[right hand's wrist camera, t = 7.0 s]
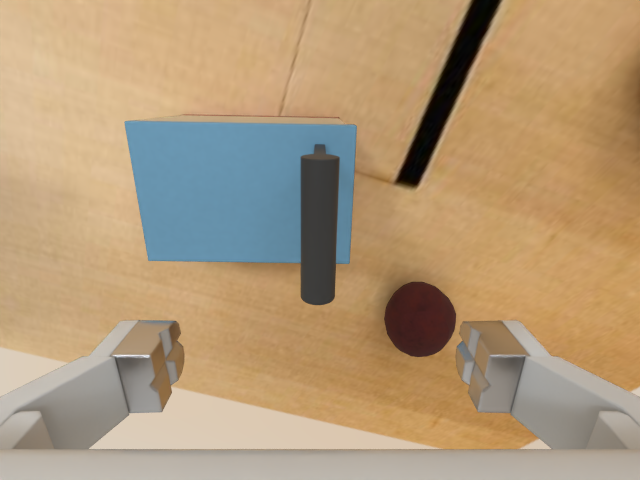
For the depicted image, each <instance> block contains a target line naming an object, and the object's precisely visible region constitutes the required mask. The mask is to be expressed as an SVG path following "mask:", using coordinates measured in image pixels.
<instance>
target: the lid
mask: <svg viewBox="0 0 640 480" xmlns="http://www.w3.org/2000/svg"><path fill="white" fill-rule="evenodd" d="M125 128H126V134H127V139H128V145H129V151H130V157H131V163H132V168H133V174H134V180H135V186H136V192H137V197H138V203H139V209H140V215H141V220H142V226H143V232H144V238H145V244H146V249H147V255H148V260H149V261H198V262H264V263H301V298H302V300H303V301H304V302H306V303H308V304H312V305H324V304H328V303H330V302H331V301H333V299H334V297H335V273H336V264H349V263H350V245H351V226H352V207H353V188H354V169H355V150H356V131H357V126H356V125H349V124H295V123H241V122H187V121H125Z"/></svg>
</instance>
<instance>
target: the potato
mask: <svg viewBox="0 0 640 480" xmlns="http://www.w3.org/2000/svg"><path fill="white" fill-rule="evenodd" d="M384 320H385V325H386V330H387V334H388V336H389V338H390V339H391V341H392V342H393V344H394V345H395V346H396V347H397V348H398V349H399V350H400V351H402V352H404V353H406V354H408V355H410V356H415V357H424V356H429V355H432V354H435V353H437V352H439V351H440V350H441V349H442V348H443V347H444V346H445V345H446V344H447V342H448V341H449V339H450V338H451V336H452V334H453V332H454V329H455V323H456V313H455V310H454V307H453V305H452V303H451V302H450V300H449V298H448V297H447V296H446V295H444V294H443V293H442V292H441V291H440V290H439V289H438V288H436V287H435V286H432V285H430V284H427V283H424V282H411V283H408V284H406V285H403V286H402V287H401V288H400V289H398V290H397V291H396V292H395V293H394V294H393V296H392V298H391V299H390V301H389V302H388V304H387V307H386V311H385V318H384Z"/></svg>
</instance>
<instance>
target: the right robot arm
mask: <svg viewBox="0 0 640 480" xmlns="http://www.w3.org/2000/svg"><path fill="white" fill-rule="evenodd" d="M180 334H181V332H180V327H179V324H178V323H177V322H176V321H156V320H124V321H120V322H119V323H118V324H117V325H116V326H115V328H114V329H113V330H112V331H111V332H110V333H109V334H108V335H107V336H106V337H105V339H104V340H103V341H102V342H101V343H100V344H99V345H98V346H97V347H96V348H95V350H94V351H93V352H92V353H91V354H90V355H89V356H82V357H80V358H78V359H76V360H74V361H72V362H70V363H68V364H66V365H64V366H62V367H60V368H58V369H56V370H54V371H52V372H50V373H48V374H46V375H44V376H42V377H40V378H38V379H35V380H33V381H31V382H29V383H27V384H25V385H23V386H21V387H19V388H17V389H15V390H13V391H11V392H9V393H7V394H5V395H3V396H1V397H0V480H640V397H639V396H637V395H635V394H633V393H631V392H629V391H627V390H625V389H623V388H621V387H619V386H617V385H615V384H612V383H610V382H608V381H606V380H604V379H602V378H600V377H598V376H596V375H594V374H592V373H590V372H588V371H586V370H584V369H582V368H580V367H578V366H576V365H574V364H572V363H570V362H568V361H566V360H564V359H562V358H560V357H558V356H551V355H550V354H549V353H548V352H547V351H546V350H545V348H544V347H543V346H542V345H541V344H540V343H539V342H538V341H537V340H536V339H535V337H534V336H533V335H532V334H531V333H530V332H529V331H528V330H527V329H526V328H525V326H524V325H523V324H522V323H521V322H519V321H517V320H498V321H463V322H462V324H461V326H460V331H459V334H460V336H461V338H462V339H463V341H462V342H461V343H460V344H459V345H458V346H457V349H456V366H457V370H458V373H459V375H460V377H461V380H462V381H464V382H465V383H466V384H468V385H469V390H468V393H469V395H470V397H471V399H472V401H473V403H474V405H475V407H476V409H477V411H478V412H491V413H511V415H512V416H513V417H514V418H515V419H517V420H518V421H519V422H520V423H521V424H523V425H524V426H525V427H526V428H527V429H529V430H530V431H531V432H532V433H533V434H535V435H536V436H537V437H538V438H539V439H541V440H542V441H543V442H544V443H545V444H547V445H548V446H549V447H550V448H551V449H89V448H90V447H91V446H92V445H94V444H95V443H96V442H97V441H98V440H99V439H101V438H102V437H103V436H104V435H106V434H107V433H108V432H109V431H110V430H112V429H113V428H114V427H115V426H116V425H118V424H119V423H120V422H121V421H122V420H124V419H125V418H126V417H127V416H128V415H129V413H149V412H162V411H163V409H164V407H165V405H166V403H167V401H168V399H169V397H170V395H171V393H172V390H171V385H172V384H174V383H175V382H176V381H178V380H179V377H180V375H181V373H182V370H183V365H184V349H183V346H182V345H181V344H180V343H179V342H178V341H177V339H178V338H179V336H180Z"/></svg>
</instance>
